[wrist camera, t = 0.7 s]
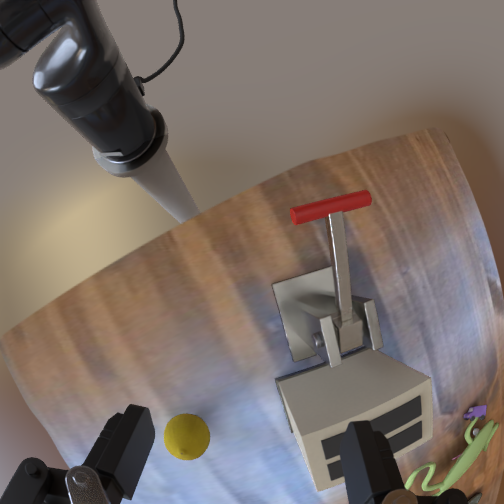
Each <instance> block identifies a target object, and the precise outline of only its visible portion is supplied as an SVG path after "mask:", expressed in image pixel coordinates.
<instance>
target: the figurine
mask: <svg viewBox="0 0 504 504" xmlns="http://www.w3.org/2000/svg"><path fill="white" fill-rule="evenodd" d="M486 407H487V405H482V406H476V407H470V408H469V410H468V412H467V413H466V414H464V417H463V418H464V419H465V420H468V419H469V418H470V421H472V422H471V423H470V425H469V426H468V427H467V429H466V431H465V440H466V442H467V443H468V444H469V445H468V446H467V448H466V449H465V450H464V452H463V453H461V454H460V455H458V456H457V457H454V458H453V459H452V460H454V459H456V458H458V457H459V458H458V460H457V461H456V463H455V464H454V465H453V467H452V468H451V470H450V471H449V473H448V474H447V476H446V477H445V479H444V480H443V482H441V483H438V484H435V485H431V486H428V482H429V481H430V479H431V478H432V476H433V474H434V471H435V468H436V463H434V462H429V463H427V464H425V465H423V466H421V467H420V468H418V469H416V470H415V471H414V472H413V473H412V474H411V475H410V477H409V478H408V480H407V482H406V484H405V485H404V486H405V488H406V489H407V490H408V489H409V488H410V487H411V485H412V484H413V481H414V479H415V477H416V475H417V473H418V472H419V471H420V470H422V469H424V468H426V467H428V466H429V467H430V469H429V472H428V474H427V476H426V478H425V479H424V481H423V483H422V489H423V491H432V490H435V489H438V488H440V491H439V492H438V493H436V494H434V495H432V496H439V495H440V494H441V493H442V492H444V491H445V490H447V489H448V488H449V487H450V486H452V485H453V484H454V483H455V482H456V481H457V480H458V479H459V478H460V477H461V476H462V475H463V474H464V473H465V472H466V470H467V469H468V468H469V467H470V466H471V464H472V463H473V462H474V460H475V459H476V458H477V456H478V455H479V453H480V452H481V450H482V449H483V451H487V447H488V444H489V442H490V440H491V438H492V436H493V434H494V433H495V431H496V429H497V428H498V426H499V423H495V425H494V421H493V420H490V421H489V422H488V423H486V424H485V425H484V427H483V428H482V429H481V430H479V428H474V431H473V435H476V436H475V437H474V438H471V436H470V431H471V429H472V427H473V425H474V424H475V423H476V421H477V419H478V418H479V417H480V420H483V419H484V418H485V415H486ZM493 425H494V426H493ZM452 460H451V461H452Z"/></svg>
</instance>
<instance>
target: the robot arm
mask: <svg viewBox="0 0 504 504" xmlns="http://www.w3.org/2000/svg"><path fill="white" fill-rule="evenodd" d="M173 4H174V10H175V13H176V15H177V18H178V23H179V31H180V42H179V45H178V47H177V49H176V51H175V52H174V54H173V55H172V56H171V58H170V59H169V60H168V61H167V62H166V63H165V64H164V65H163V66H162V67H161V68H160V69H159V70H158V71H157V72H155V73H154V74H152V75H151V76H149V77H147V78H145V79H143V78H142V77H139V76H137V77H134V78H133V77H132V75H131V73H130V71H129V69H128V67H127V64H126V63H125V61H124V59H123V57H122V54H121V52H120V50H119V48H118V46H117V44H116V42H115V40H114V38H113V36H112V34H111V32H110V30H109V28H108V26H107V25H106V22H105V20H104V18H103V16H102V14H101V11H100V9H99V6H98V3H97V1H96V0H0V70H1V69H4V68H6V67H8V66H9V65H11V64H12V63H14V62H15V61H17V60H18V59H19V58H21V57H22V56H23V55H25V54H26V53H27V52H28V51H29V50H31V49H32V48H33V47H35V46H36V45H37V44H39V43H40V42H41V41H43V40H44V39H45V38H47V37H48V36H50V35H51V34H52V33H54V32H55V31H57V30H58V29H59V28H61V27H62V28H61V30H60V31H59V33H58V34H57V36H56V37H55V38H54V39H53V41H52V42H51V43H50V44H49V46H48V47H47V48H46V49H45V51H44V52H43V53H42V55H41V57H40V58H39V60H38V62H37V64H36V66H35V69H34V72H33V78H32V81H33V86H34V89H35V91H36V92H37V93H38V94H39V95H40V96H41V97H42V98H43V99H44V100H45V101H46V102H47V103H48V104H49V105H50V106H51V107H52V108H53V109H54V110H55V111H56V112H57V113H58V114H59V115H60V116H61V117H63V119H65V120H66V121H67V122H68V123H69V124H70V125H71V126H72V127H73V128H74V129H75V130H76V131H77V132H78V133H79V134H80V135H82V137H83V138H85V139H86V140H87V141H88V142H89V143H90V144H91V145H92V146H93V147H94V148H95V149H96V150H97V151H98V152H99V154H100V155H101V156H103V157H104V158H105V159H106V160H107V161H109V162H111V163H114V164H127V163H130V162H133V161H135V160H137V159H139V158H140V157H141V156H143V155H144V154H145V153H146V152H147V151H148V150H149V148H150V147H151V146H152V144H153V142H154V140H155V137H156V132H157V127H156V122H155V120H154V118H153V116H152V115H151V113H150V111H149V109H148V107H147V105H146V103H145V101H144V99H143V97H142V96H144V95H145V92H144V86H143V84H142V83H146V82H148V81H150V80H152V79H153V78H155V77H156V76H158V75H159V74H160V73H162V72H163V71H164V70H165V69H166V68H167V67H168V66H169V65H170V64H171V63H172V62H173V60H174V59H175V58H176V56H177V55H178V54H179V52H180V50H181V48H182V46H183V44H184V30H183V23H182V18H181V15H180V13H179V10H178V7H177V0H173ZM103 429H104V430H102V432H101V433H100V435H99V437H98V439H97V440H96V442H95V444H94V446H93V447H92V449H91V451H90V453H89V454H88V456H87V458H86V460H85V461H84V463H83V464H82V465H81V466H75V467H73V468H71V469H70V470H62V469H55V468H49V467H47V466H46V465H45V463H44V462H43V461H41V460H40V459H38V458H33V457H31V458H27V459H25V460H23V461H22V463H21V464H20V465H19V467H18V469H17V470H16V472H15V474H14V476H13V477H12V479H11V481H10V482H9V484H8V486H7V488H6V489H5V491H4V493H3V495H2V497H1V499H0V504H120V503H121V500H122V498H125V499H128V500H132V497H133V494H134V492H135V489H136V486H137V484H138V481H139V479H140V476H141V473H142V471H143V468H144V466H145V463H146V461H147V458H148V456H149V453H150V450H151V448H152V445H153V443H154V439H155V429H154V426H153V422H152V418H151V415H150V411H149V409H148V408H147V407H142V406H138V405H134V404H130V405H129V406H128V407H127V409H126V411H125V412H124V414H121V413H116V414H115V415H114V416H113V417H111V418H110V419H109V420H108V421H107V423H106V425H105V427H104V428H103ZM340 459H341V464H342V469H343V474H344V479H345V484H346V490H347V495H348V501H349V504H468V501H467V498H466V496H465V494H464V493H463V492H462V491H461V490H459V489H454V488H452V489H448V490H445V491H444V492H442V493H441V494H440V495H439V496H417V495H415V494H414V493H413V492H411V491H409V490H407V489H406V488H405V486H404V484H403V481H402V478H401V475H400V472H399V469H398V466H397V463H396V461H395V458H394V455H393V452H392V450H391V447H390V444H389V441H388V439H387V438H386V437H385V436H384V434H383V433H382V432H381V431H373V429H372V427H371V424H370V422H369V420H362V421H351V422H349V424H348V426H347V429H346V431H345V434H344V436H343V439H342V441H341V444H340Z"/></svg>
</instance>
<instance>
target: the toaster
mask: <svg viewBox="0 0 504 504" xmlns="http://www.w3.org/2000/svg"><path fill="white" fill-rule="evenodd" d="M341 360H342V364H341V365H338V366H336V367H333V368H331V367H330V366H329V365H328V364H327V363H326V362H324V363H321V364H318V365H315V366H312V367H310V368H307V369H304V370H301V371H298V372H295V373H292V374H288V375H285V376H282V377H279V378H275V382H276V385H277V389H278V392H279V395H280V399H281V402H282V405H283V408H284V412H285V415H286V418H287V421H288V425H289V428H290V431H291V433H293V432H294V435H295V437H296V440H297V442H298V445H299V448H300V450H301V453H302V455H303V458H304V460H305V463H306V465H307V468H308V470H309V473H310V475H311V478H312V480H313V483H314V485H315V488H316V490H317V492H319V491H322V490H325V489H328V488H331V487H334V486H336V485H339V484H342V483H344V482H345V479H344V474H343V469H342V464H341V459H340V444H341V441H342V439H343V436H344V434H345V431H346V429H347V426H348V424H349V422H351V421H362V420H369V422H370V424H371V427H372V429H373V431H381V432H382V433H383V434H384V436H385V437H386V438H387V439H388V441H389V444H390V447H391V450H392V452H393V455H394V458H395V459H397V458H399V457H400V456H402V455H404V454H406V453H408V452H410V451H411V450H413V449H415V448H416V447H418V446H420V445H422V444H423V443H425V442H426V441H428V440H430V439H431V438H432V435H433V408H432V384H431V377H429V376H427V375H425V374H423V373H421V372H419V371H417V370H415V369H413V368H411V367H409V366H407V365H405V364H403V363H401V362H399V361H397V360H395V359H393V358H391V357H389V356H387V355H385V354H384V353H382V352H380V351H378V350H375V351H374V350H372V349H370V348H368V347H366V346H365V347H362V348H360V349H357V350H355V351H352V352H350V353H347V354H345V355H342V356H341Z"/></svg>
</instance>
